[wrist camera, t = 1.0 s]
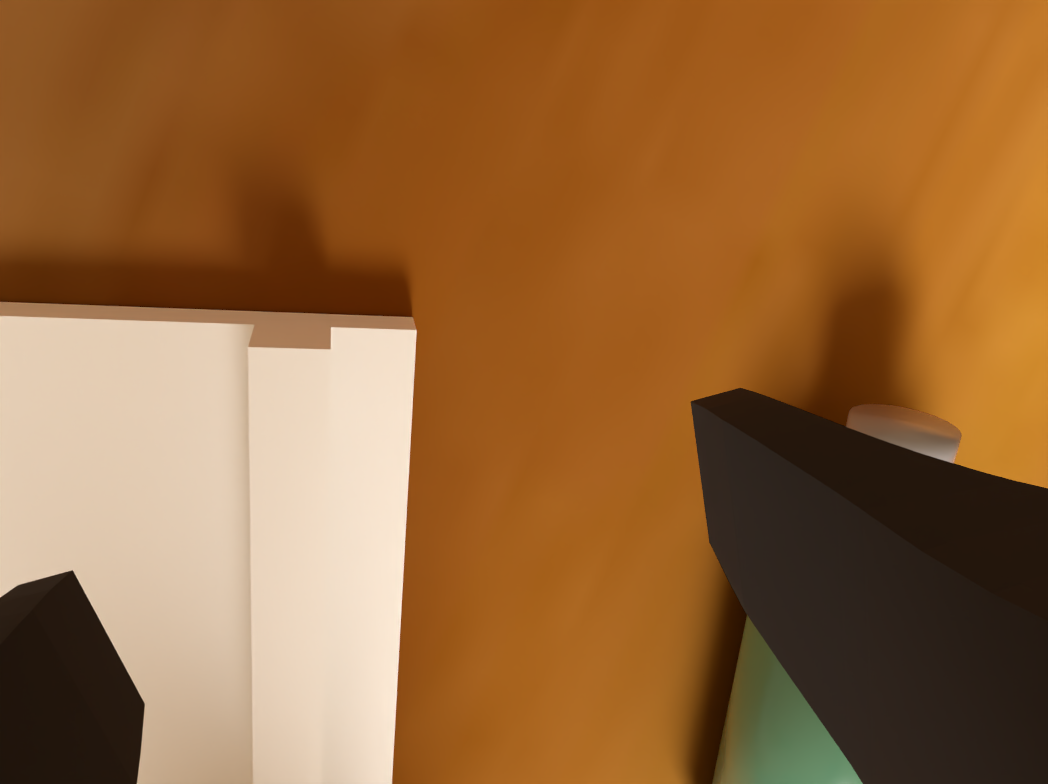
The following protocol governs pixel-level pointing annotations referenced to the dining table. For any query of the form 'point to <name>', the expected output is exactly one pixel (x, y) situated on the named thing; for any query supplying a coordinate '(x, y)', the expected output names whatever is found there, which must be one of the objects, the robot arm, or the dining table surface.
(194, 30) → the dining table surface
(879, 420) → the green bottle
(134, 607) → the bottle cradle
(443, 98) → the dining table surface
